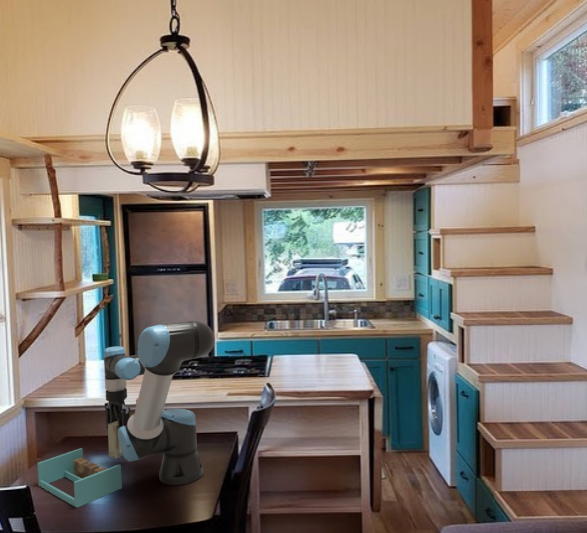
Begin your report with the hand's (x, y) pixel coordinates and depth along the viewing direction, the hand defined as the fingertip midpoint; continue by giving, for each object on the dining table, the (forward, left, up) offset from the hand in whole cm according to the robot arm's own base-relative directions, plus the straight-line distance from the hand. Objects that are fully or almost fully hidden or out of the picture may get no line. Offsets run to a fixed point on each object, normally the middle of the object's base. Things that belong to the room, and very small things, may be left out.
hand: (119, 450), depth 194 cm
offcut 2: (-11, +14, -6) cm, 19 cm away
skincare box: (0, 0, -2) cm, 2 cm away
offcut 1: (+3, +14, -6) cm, 15 cm away
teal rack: (-4, +18, -6) cm, 19 cm away
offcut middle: (-4, +14, -6) cm, 15 cm away
